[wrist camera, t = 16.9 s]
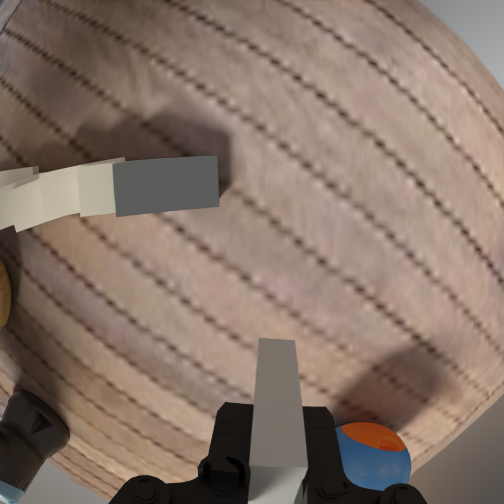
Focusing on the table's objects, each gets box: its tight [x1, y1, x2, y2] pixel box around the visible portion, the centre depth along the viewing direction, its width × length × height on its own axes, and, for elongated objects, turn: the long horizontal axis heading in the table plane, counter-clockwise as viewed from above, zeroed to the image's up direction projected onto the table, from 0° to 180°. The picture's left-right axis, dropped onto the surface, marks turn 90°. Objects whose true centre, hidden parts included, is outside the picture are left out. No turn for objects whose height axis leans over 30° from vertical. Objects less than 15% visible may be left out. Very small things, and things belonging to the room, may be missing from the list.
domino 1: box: [0, 166, 39, 188], centre depth 33 cm, size 2×5×10 cm
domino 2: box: [0, 172, 46, 230], centre depth 31 cm, size 2×5×10 cm
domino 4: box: [39, 157, 126, 219], centre depth 30 cm, size 2×5×10 cm
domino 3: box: [6, 179, 62, 232], centre depth 31 cm, size 2×5×10 cm
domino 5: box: [77, 158, 165, 217], centre depth 30 cm, size 2×5×10 cm
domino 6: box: [112, 155, 219, 217], centre depth 29 cm, size 2×5×10 cm
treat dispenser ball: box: [335, 422, 411, 491], centre depth 34 cm, size 16×15×15 cm
